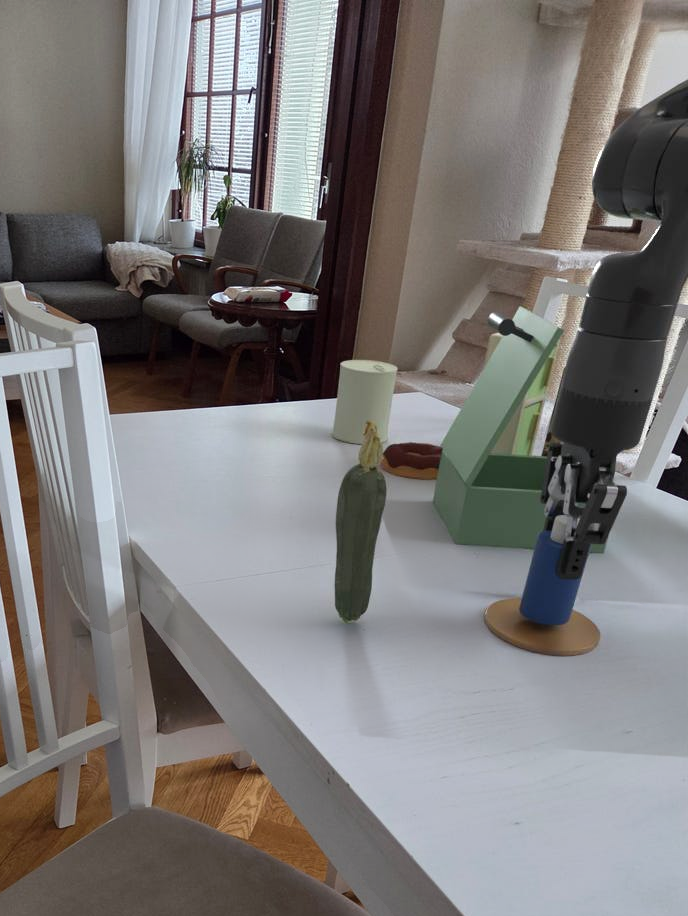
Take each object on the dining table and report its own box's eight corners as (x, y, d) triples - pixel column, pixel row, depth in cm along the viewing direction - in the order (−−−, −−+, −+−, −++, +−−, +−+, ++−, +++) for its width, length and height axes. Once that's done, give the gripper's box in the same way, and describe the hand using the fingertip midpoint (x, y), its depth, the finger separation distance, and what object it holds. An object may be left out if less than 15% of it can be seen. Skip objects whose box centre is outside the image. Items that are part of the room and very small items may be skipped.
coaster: (577, 606, 90) (578, 601, 90) (616, 659, 81) (617, 653, 80) (473, 599, 90) (474, 594, 90) (499, 652, 81) (501, 646, 81)
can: (354, 447, 137) (364, 370, 131) (320, 431, 144) (329, 358, 138) (398, 441, 141) (410, 366, 135) (363, 426, 148) (373, 355, 142)
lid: (525, 308, 102) (489, 291, 101) (564, 330, 89) (523, 310, 88) (445, 447, 111) (411, 432, 110) (470, 485, 98) (432, 468, 97)
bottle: (560, 604, 87) (586, 512, 82) (576, 627, 83) (604, 531, 78) (513, 601, 87) (536, 509, 82) (526, 624, 83) (552, 528, 78)
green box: (562, 514, 114) (578, 458, 111) (601, 559, 102) (620, 497, 98) (431, 506, 115) (442, 450, 111) (454, 550, 102) (467, 487, 98)
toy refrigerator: (505, 500, 118) (542, 343, 108) (457, 486, 122) (488, 333, 112) (530, 487, 123) (567, 336, 113) (483, 474, 128) (515, 327, 117)
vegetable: (365, 638, 82) (398, 433, 72) (320, 632, 83) (346, 428, 73) (366, 617, 86) (397, 419, 76) (323, 611, 86) (348, 415, 76)
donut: (367, 473, 126) (371, 446, 124) (396, 458, 133) (401, 433, 131) (431, 490, 121) (436, 462, 119) (458, 473, 127) (463, 447, 126)
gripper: (687, 410, 68) (625, 601, 76) (619, 371, 80) (572, 539, 88) (592, 405, 68) (540, 596, 76) (539, 366, 80) (500, 534, 89)
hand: (558, 564), depth 82 cm, fingers closed on bottle, 4 cm apart
